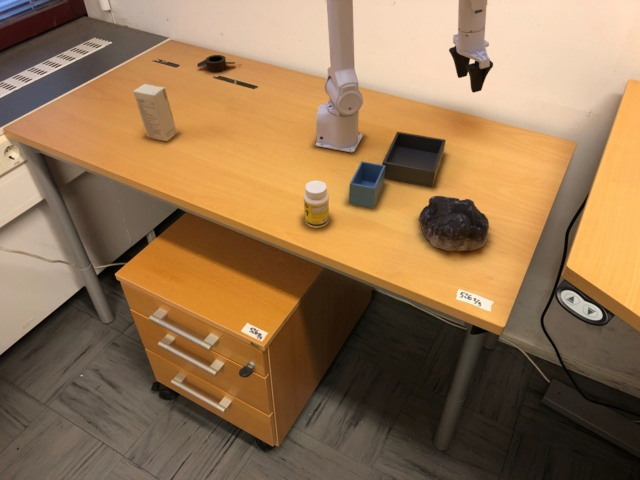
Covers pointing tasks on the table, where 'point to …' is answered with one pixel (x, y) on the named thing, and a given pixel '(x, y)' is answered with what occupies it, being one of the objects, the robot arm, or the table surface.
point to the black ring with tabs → (215, 63)
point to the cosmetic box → (155, 112)
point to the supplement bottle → (316, 204)
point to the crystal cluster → (454, 224)
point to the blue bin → (367, 184)
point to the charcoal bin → (414, 159)
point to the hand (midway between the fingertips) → (469, 83)
